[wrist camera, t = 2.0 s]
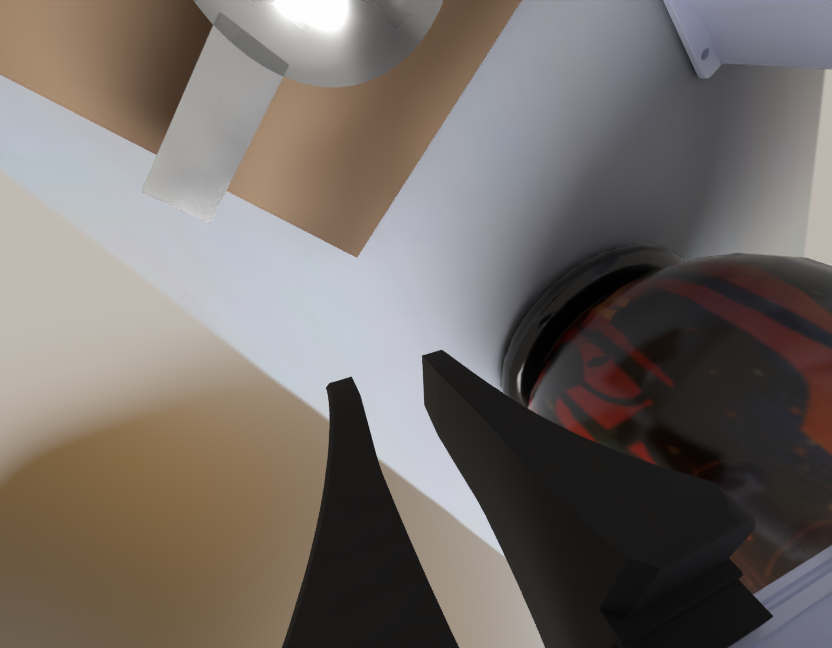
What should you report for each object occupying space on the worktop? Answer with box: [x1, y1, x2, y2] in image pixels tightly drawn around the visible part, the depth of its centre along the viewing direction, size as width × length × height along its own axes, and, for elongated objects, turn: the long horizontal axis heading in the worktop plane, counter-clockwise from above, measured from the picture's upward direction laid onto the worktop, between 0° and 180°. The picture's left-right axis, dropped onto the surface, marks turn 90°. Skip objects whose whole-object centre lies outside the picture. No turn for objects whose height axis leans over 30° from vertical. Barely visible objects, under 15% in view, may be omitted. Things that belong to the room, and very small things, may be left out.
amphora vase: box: [501, 244, 832, 594], centre depth 21 cm, size 22×22×28 cm
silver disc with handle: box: [141, 0, 443, 223], centre depth 11 cm, size 13×8×2 cm, turn 142°
